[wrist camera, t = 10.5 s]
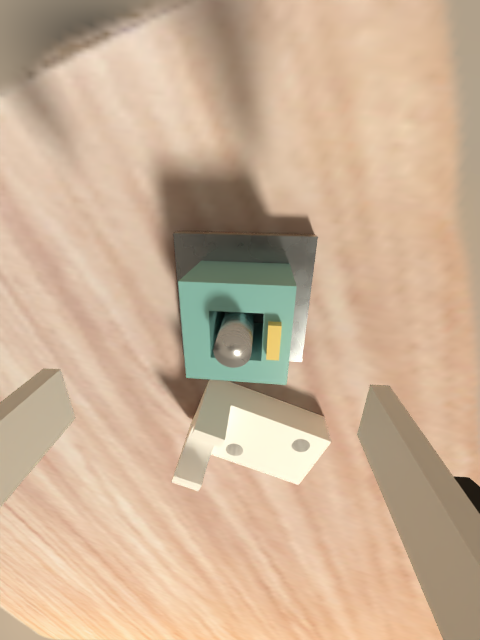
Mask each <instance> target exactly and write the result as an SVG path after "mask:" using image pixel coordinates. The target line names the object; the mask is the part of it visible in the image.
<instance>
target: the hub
mask: <svg viewBox="0 0 480 640" xmlns="http://www.w3.org/2000/svg"><path fill="white" fill-rule="evenodd" d="M178 286H179V298H180V310H181V322H182V334H183V346H184V357H185V369H186V378H196V379H210V380H224V381H237V382H251V383H265V384H279V385H287V375H288V366H289V356H290V346H291V337H292V327H293V317H294V308H295V298H296V288H297V286H296V282H295V279H294V276H293V273H292V270H291V266H290V264H286V263H257V262H228V261H200V262H199V263H198V264H197V265H196V266H195V267H194V268H192V269H191V270H190V271H189V272H188V273H187V274H186V275H185V276H184V277H182V278H181V279H180V280H179V281H178ZM224 312H243V313H263V314H264V318H263V323H254V330H253V341H252V352H251V357H250V359H249V361H248V362H247V363H246V364H245V365H243V366H241V367H237V368H230V367H226V366H224V365H222V364H221V363H219V362H218V361H217V359H216V358H215V356H214V352H213V348H214V344H215V342H216V339H217V336H218V333H219V330H220V327H221V324H222V321H223V319H224Z"/></svg>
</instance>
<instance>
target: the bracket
mask: <svg viewBox="0 0 480 640" xmlns="http://www.w3.org/2000/svg"><path fill="white" fill-rule="evenodd" d="M330 443H331V438H330V435H329V431H328V427H327V424H326V420H325V417H324V416H321V415H319V414H316V413H313V412H310V411H308V410H305V409H302V408H300V407H297V406H294V405H292V404H289V403H286V402H283V401H281V400H278V399H275V398H273V397H270V396H267V395H265V394H262V393H259V392H256V391H254V390H251V389H248V388H246V387H243V386H240V385H238V384H235V383H232V382H229V381H224V380H210V379H209V381H208V384H207V386H206V388H205V391H204V393H203V395H202V398H201V401H200V404H199V406H198V408H197V411H196V413H195V415H194V418H193V420H192V423H191V425H190V428H189V431H188V434H187V437H186V440H185V443H184V446H183V449H182V452H181V455H180V458H179V461H178V464H177V467H176V470H175V473H174V476H173V479H172V483H175V484H178V485H181V486H184V487H187V488H190V489H193V490H196V491H199V490H200V488H201V486H202V482H203V478H204V474H205V471H206V467H207V464H208V461H209V458H210V456H211V455H214V456H216V457H219V458H222V459H225V460H228V461H231V462H234V463H237V464H239V465H242V466H245V467H248V468H251V469H254V470H257V471H260V472H262V473H265V474H268V475H271V476H274V477H277V478H280V479H283V480H285V481H288V482H291V483H294V484H297V485H299V483H300V482H301V481H302V480H303V478H304V477H305V476H306V474H307V473H308V472H309V470H310V469H311V468H312V467H313V465H314V464H315V463H316V461H317V460H318V459H319V457H320V456H321V455H322V453H323V452H324V451H325V450H326V448H327V447H328V446H329V444H330Z"/></svg>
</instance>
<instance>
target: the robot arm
mask: <svg viewBox="0 0 480 640" xmlns="http://www.w3.org/2000/svg"><path fill="white" fill-rule="evenodd" d="M74 419H75V415H74V411H73V408H72V405H71V402H70V398H69V395H68V392H67V389H66V385H65V382H64V379H63V376H62V372H61V369H42V370H41V371H40V372H39V373H37V374H36V375H35V376H34V377H32V378H31V379H30V380H28V381H27V382H26V383H25V384H23V385H22V386H21V387H20V388H18V389H17V390H16V391H14V392H13V393H12V394H11V395H9V396H8V397H7V398H5V399H4V400H3V401H2V402H0V507H1V506H2V505H3V504H4V503H5V501H6V500H7V499H8V498H9V497H10V496H11V494H12V493H13V492H14V491H15V490H16V488H17V487H18V486H19V485H20V484H21V482H22V481H23V480H24V479H25V478H26V476H27V475H28V474H29V473H30V472H31V470H32V469H33V468H34V467H35V466H36V465H37V463H38V462H39V461H40V460H41V459H42V457H43V456H44V455H45V454H46V453H47V451H48V450H49V449H50V448H51V447H52V445H53V444H54V443H55V442H56V441H57V439H58V438H59V437H60V436H61V435H62V434H63V432H64V431H65V430H66V429H67V428H68V426H69V425H70V424H71V423H72V422H73V420H74ZM357 435H358V438H359V440H360V442H361V445H362V447H363V450H364V452H365V454H366V457H367V459H368V462H369V464H370V466H371V469H372V471H373V473H374V476H375V478H376V481H377V483H378V485H379V488H380V490H381V492H382V495H383V497H384V500H385V502H386V504H387V507H388V509H389V511H390V514H391V516H392V519H393V521H394V523H395V526H396V528H397V531H398V533H399V535H400V538H401V540H402V542H403V545H404V547H405V550H406V552H407V554H408V557H409V559H410V561H411V564H412V566H413V569H414V571H415V573H416V576H417V578H418V581H419V583H420V585H421V588H422V590H423V592H424V595H425V597H426V600H427V602H428V604H429V607H430V609H431V611H432V614H433V616H434V619H435V621H436V623H437V626H438V628H439V631H440V633H441V635H442V638H443V640H480V487H479V486H478V485H477V484H476V483H475V482H474V481H472V480H471V479H470V478H468V477H453V475H452V474H451V473H450V471H449V470H448V468H447V467H446V465H445V464H444V463H443V461H442V460H441V458H440V457H439V456H438V454H437V453H436V451H435V450H434V448H433V447H432V446H431V444H430V443H429V441H428V440H427V438H426V437H425V436H424V434H423V433H422V431H421V430H420V429H419V427H418V426H417V424H416V423H415V421H414V420H413V419H412V417H411V416H410V414H409V413H408V411H407V410H406V409H405V407H404V406H403V404H402V403H401V402H400V400H399V399H398V397H397V396H396V394H395V393H394V392H393V390H392V389H391V387H390V386H385V385H370V387H369V391H368V395H367V399H366V403H365V407H364V410H363V414H362V418H361V422H360V426H359V430H358V434H357Z"/></svg>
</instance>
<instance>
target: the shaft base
mask: <svg viewBox="0 0 480 640" xmlns="http://www.w3.org/2000/svg"><path fill="white" fill-rule="evenodd" d="M173 236H174V248H175V260H176V271H177V283H178V281H179V280H180V279H181V278H182V277H184V276H185V275H186V274H187V273H188V272H189V271H190V270H191V269H192V268H194V267H195V266H196V265H197V264H198V263H199V262H200V261H228V262H257V263H286V264H290V266H291V270H292V273H293V276H294V279H295V282H296V286H297V288H296V298H295V308H294V317H293V327H292V337H291V346H290V356H289V361H295V362H302V356H303V348H304V341H305V333H306V325H307V317H308V309H309V301H310V293H311V286H312V278H313V270H314V262H315V254H316V246H317V238H318V237H317V236H316V235H315V234H280V233H238V232H196V231H178V232H175V233H173ZM178 295H179V286H178ZM179 307H180V298H179ZM263 318H264V314H263V313H243V312H224V319H223V321H222V324H221V327H220V330H219V333H218V336H217V339H216V342H215V344H214V348H213V352H214V356H215V358H216V359H217V361H218V362H219V363H221V364H222V365H224V366H226V367H230V368H237V367H241V366H243V365H245V364H246V363H247V362H248V361H249V359H250V357H251V352H252V341H253V330H254V323H263ZM180 319H181V310H180ZM181 331H182V322H181ZM182 343H183V334H182ZM183 354H184V346H183Z"/></svg>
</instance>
